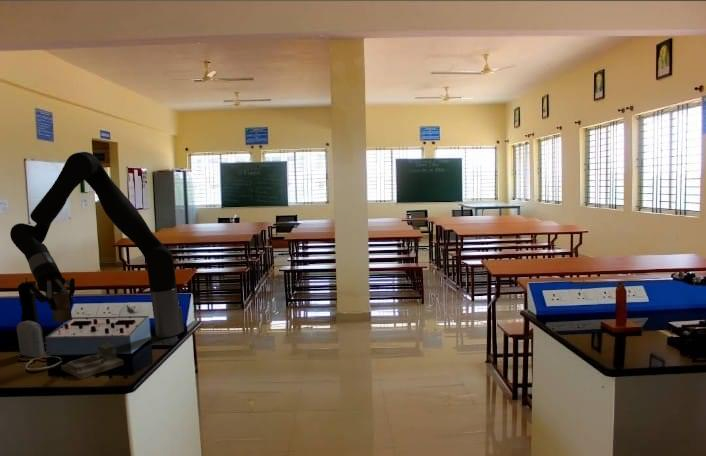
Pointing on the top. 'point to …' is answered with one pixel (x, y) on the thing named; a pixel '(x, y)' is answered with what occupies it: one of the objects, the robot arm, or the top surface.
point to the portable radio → (28, 302)
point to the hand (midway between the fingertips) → (63, 307)
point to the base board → (94, 362)
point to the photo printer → (30, 339)
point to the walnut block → (61, 307)
